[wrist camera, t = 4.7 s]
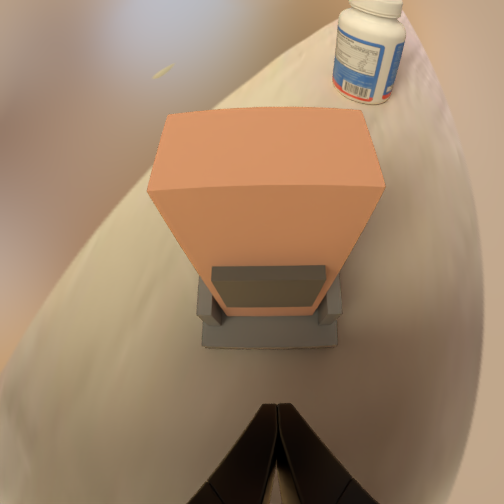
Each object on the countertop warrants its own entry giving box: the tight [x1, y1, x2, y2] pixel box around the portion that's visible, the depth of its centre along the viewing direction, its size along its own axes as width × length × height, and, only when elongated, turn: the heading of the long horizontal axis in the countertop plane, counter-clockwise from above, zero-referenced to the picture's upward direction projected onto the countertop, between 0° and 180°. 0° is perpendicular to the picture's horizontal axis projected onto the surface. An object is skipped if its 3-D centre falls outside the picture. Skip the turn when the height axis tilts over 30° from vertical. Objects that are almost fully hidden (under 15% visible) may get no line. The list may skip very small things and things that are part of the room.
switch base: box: [197, 273, 342, 349], centre depth 14 cm, size 10×6×6 cm, turn 179°
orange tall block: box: [147, 107, 386, 316], centre depth 10 cm, size 2×4×10 cm, turn 89°
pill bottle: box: [333, 0, 406, 104], centre depth 18 cm, size 6×5×10 cm
